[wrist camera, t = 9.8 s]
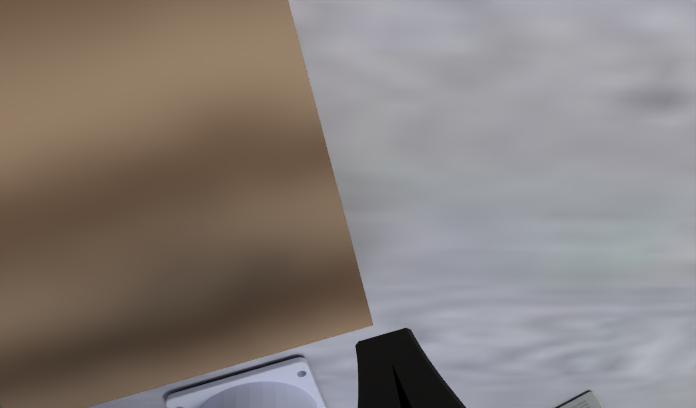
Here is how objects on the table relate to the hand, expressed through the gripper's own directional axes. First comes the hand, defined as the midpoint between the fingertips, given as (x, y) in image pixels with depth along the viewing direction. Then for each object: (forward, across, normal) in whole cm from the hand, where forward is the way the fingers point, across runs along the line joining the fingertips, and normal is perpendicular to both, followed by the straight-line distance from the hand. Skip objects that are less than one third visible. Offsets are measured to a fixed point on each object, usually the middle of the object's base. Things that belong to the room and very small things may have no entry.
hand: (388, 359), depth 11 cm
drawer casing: (+9, +8, -3) cm, 13 cm away
